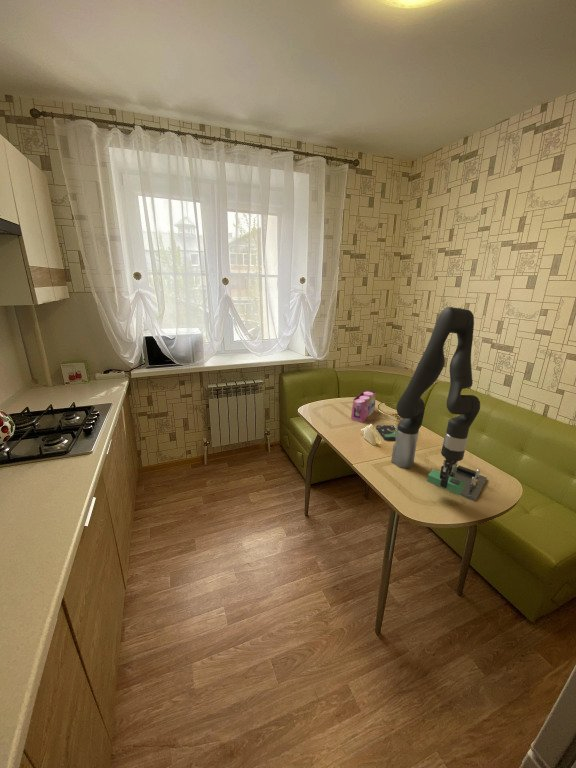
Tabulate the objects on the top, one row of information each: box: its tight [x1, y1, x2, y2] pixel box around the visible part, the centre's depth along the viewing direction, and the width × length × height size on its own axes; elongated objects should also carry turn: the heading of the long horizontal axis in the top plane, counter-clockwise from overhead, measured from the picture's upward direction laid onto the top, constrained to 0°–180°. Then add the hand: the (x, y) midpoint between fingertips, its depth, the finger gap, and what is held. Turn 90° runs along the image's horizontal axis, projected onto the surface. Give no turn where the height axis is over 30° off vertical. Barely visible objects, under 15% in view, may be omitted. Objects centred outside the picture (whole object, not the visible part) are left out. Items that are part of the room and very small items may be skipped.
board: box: [426, 469, 465, 496], centre depth 123 cm, size 12×6×3 cm, turn 47°
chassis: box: [452, 465, 488, 502], centre depth 135 cm, size 15×20×6 cm
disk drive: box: [375, 424, 397, 441], centre depth 178 cm, size 10×3×15 cm
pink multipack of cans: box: [350, 389, 377, 423], centre depth 201 cm, size 24×8×14 cm, turn 147°
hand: (445, 483), depth 123 cm, fingers closed on board, 5 cm apart
